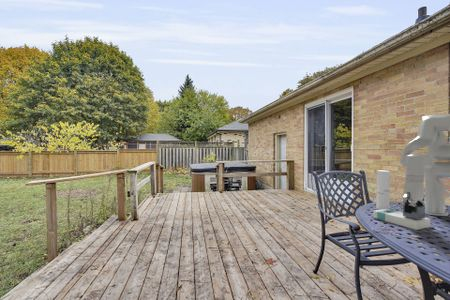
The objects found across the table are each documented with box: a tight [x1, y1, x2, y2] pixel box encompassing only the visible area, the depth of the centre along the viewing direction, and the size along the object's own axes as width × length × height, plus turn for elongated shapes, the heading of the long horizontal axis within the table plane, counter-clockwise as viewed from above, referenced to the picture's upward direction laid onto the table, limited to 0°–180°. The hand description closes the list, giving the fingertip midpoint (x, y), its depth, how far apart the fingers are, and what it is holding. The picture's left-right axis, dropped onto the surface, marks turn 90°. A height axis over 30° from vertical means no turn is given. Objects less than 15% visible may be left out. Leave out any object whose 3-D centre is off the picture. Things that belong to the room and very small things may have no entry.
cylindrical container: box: [375, 169, 391, 210], centre depth 160 cm, size 7×7×25 cm
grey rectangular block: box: [402, 203, 426, 219], centre depth 127 cm, size 6×7×10 cm
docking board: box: [372, 208, 431, 231], centre depth 133 cm, size 22×12×4 cm, turn 25°
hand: (413, 211), depth 127 cm, fingers open, 9 cm apart
